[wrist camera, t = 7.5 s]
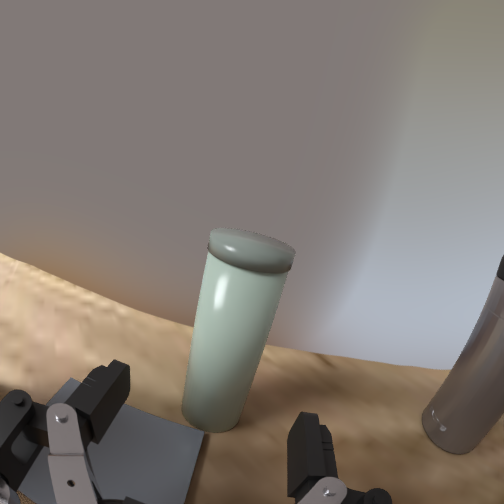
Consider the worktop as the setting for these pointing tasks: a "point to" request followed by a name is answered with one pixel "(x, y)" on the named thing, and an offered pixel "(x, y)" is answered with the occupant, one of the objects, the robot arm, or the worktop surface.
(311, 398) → the worktop surface
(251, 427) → the worktop surface
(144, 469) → the slate mat
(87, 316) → the worktop surface
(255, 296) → the canister
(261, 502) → the worktop surface
